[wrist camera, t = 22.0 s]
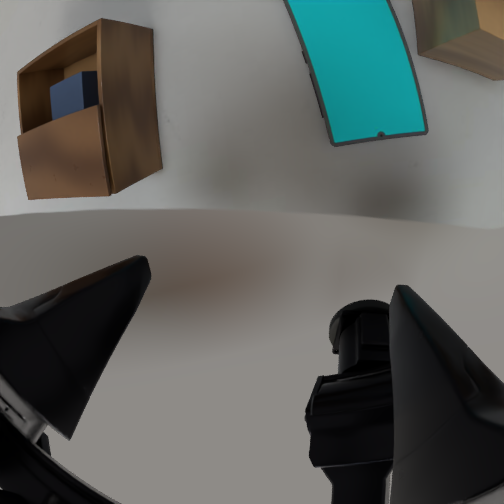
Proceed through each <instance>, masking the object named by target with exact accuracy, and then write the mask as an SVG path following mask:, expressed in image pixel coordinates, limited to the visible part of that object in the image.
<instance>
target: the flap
mask: <svg viewBox="0 0 504 504" xmlns="http://www.w3.org/2000/svg"><path fill="white" fill-rule="evenodd" d="M17 139H18V147H19V154H20V160H21V166H22V172H23V177H24V182H25V187H26V192H27V196H28V200H35V199H51V198H71V197H100V196H110V195H111V189H110V184H109V178H108V172H107V165H106V158H105V150H104V142H103V133H102V123H101V111H100V105H95V106H92V107H89V108H86V109H83V110H80V111H77V112H74V113H71V114H69V115H66V116H63V117H61V118H58V119H56V120H53V121H51V122H48V123H46V124H43V125H41V126H39V127H37V128H34V129H32V130H30V131H28V132H26V133H24V134H21V135H19V136H17Z"/></svg>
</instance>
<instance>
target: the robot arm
mask: <svg viewBox="0 0 504 504" xmlns="http://www.w3.org/2000/svg"><path fill="white" fill-rule="evenodd" d="M150 280H151V271H150V267H149V263H148V260H147V258H146V257H145V256H140V255H136V256H133V257H131V258H128V259H125V260H123V261H120V262H118V263H116V264H113V265H111V266H108V267H106V268H103V269H101V270H98V271H96V272H93V273H91V274H89V275H86V276H84V277H82V278H79V279H77V280H74V281H72V282H70V283H67V284H65V285H63V286H60V287H58V288H56V289H53V290H51V291H49V292H47V293H44V294H41V295H39V296H36V297H34V298H31V299H29V300H26V301H24V302H21V303H18V304H16V305H13V306H10V307H0V487H1V488H2V489H3V490H0V504H121V503H119V502H117V501H115V500H114V499H112V498H110V497H108V496H107V495H105V494H103V493H102V492H100V491H98V490H97V489H95V488H93V487H92V486H91V485H89V484H87V483H86V482H84V481H83V480H81V479H80V478H79V477H77V476H76V475H74V474H73V473H72V472H70V471H69V470H67V469H66V468H65V467H63V466H62V465H61V464H60V463H58V462H57V461H56V460H54V459H53V458H52V457H51V452H50V446H49V440H48V436H47V435H46V434H45V433H44V432H43V431H44V430H45V428H46V427H47V425H49V426H50V427H51V428H52V429H54V430H55V431H56V432H58V433H59V434H60V435H62V436H63V437H64V438H66V439H67V440H70V439H71V437H72V435H73V433H74V431H75V429H76V426H77V424H78V422H79V419H80V417H81V415H82V413H83V411H84V409H85V407H86V405H87V403H88V401H89V398H90V396H91V394H92V392H93V390H94V388H95V386H96V384H97V382H98V380H99V378H100V376H101V374H102V372H103V370H104V368H105V367H106V365H107V363H108V361H109V359H110V357H111V355H112V353H113V351H114V350H115V348H116V346H117V344H118V342H119V340H120V339H121V337H122V335H123V333H124V332H125V330H126V328H127V326H128V324H129V323H130V321H131V319H132V317H133V316H134V314H135V312H136V310H137V308H138V306H139V304H140V302H141V300H142V297H143V295H144V293H145V291H146V289H147V287H148V285H149V283H150ZM346 314H347V315H346ZM345 315H346V316H345ZM467 347H468V346H467V344H466V343H465V342H464V341H463V340H462V339H461V338H460V337H459V336H458V335H457V334H456V333H455V332H454V331H453V329H451V327H450V326H449V325H447V323H446V322H445V321H444V320H443V319H442V318H441V317H440V316H439V315H438V314H437V313H436V312H435V311H434V310H433V309H432V308H431V307H430V306H429V305H428V304H427V303H426V302H425V301H424V300H423V299H422V298H421V297H420V296H419V295H418V294H416V292H414V291H413V290H412V289H411V288H410V287H409V286H407V285H397V286H396V287H395V290H394V293H393V296H392V299H391V302H390V306H389V313H376V312H364V311H353V310H343V311H342V312H341V315H340V320H339V324H338V328H337V332H336V336H335V340H334V344H333V348H332V353H333V354H338V355H339V364H338V374H335V375H329V376H324V375H323V376H318V378H317V381H316V383H315V386H314V389H313V391H312V394H311V397H310V399H309V402H308V404H307V407H306V410H305V412H306V415H305V421H306V423H307V428H308V431H309V433H310V435H311V439H310V450H309V458H310V460H311V462H312V464H313V466H314V467H315V468H317V467H321V469H322V470H323V472H324V473H325V475H326V476H327V478H328V479H329V480H330V482H331V483H332V502H331V504H388V503H389V488H390V487H389V486H390V474H391V472H392V470H393V473H392V474H393V475H392V487H391V497H390V504H504V383H503V382H502V381H501V380H500V379H499V378H498V377H497V376H496V375H495V374H494V373H493V372H492V371H491V370H490V369H489V368H488V367H487V366H486V365H485V364H484V363H483V362H482V361H481V360H480V359H479V358H478V357H477V355H476V354H475V353H474V352H473V351H472V350H471V349H470V348H469V347H468V348H467Z"/></svg>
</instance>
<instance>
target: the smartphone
mask: <svg viewBox="0 0 504 504" xmlns="http://www.w3.org/2000/svg"><path fill="white" fill-rule="evenodd" d="M283 1H284V3H285V6H286V8H287V11H288V13H289V15H290V18H291V20H292V23H293V25H294V28H295V31H296V33H297V36H298V38H299V41H300V44H301V47H302V49H303V51H302V53H303V56H304V59H305V62H306V63H307V64H308V67H309V70H310V77H311V80H312V84H313V87H314V90H315V93H316V97H317V100H318V104H319V107H320V111H321V114H322V118H324V120H325V124H326V128H327V132H328V135H329V139H330V143H331V145H332V146H334V147H338V146H344V145H350V144H356V143H363V142H369V141H376V140H384V139H392V138H400V137H409V136H419V135H426V134H427V133H428V125H427V119H426V114H425V109H424V104H423V100H422V95H421V91H420V87H419V83H418V79H417V75H416V72H415V68H414V65H413V61H412V58H411V55H410V52H409V49H408V46H407V43H406V40H405V37H404V34H403V32H402V29H401V26H400V24H399V21H398V19H397V16H396V14H395V12H394V9H393V7H392V5H391V3H390V0H283Z"/></svg>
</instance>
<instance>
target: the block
mask: <svg viewBox="0 0 504 504" xmlns="http://www.w3.org/2000/svg"><path fill="white" fill-rule="evenodd" d="M50 97H51V110H52V120H56V119H58V118H61V117H63V116H66V115H69V114H71V113H74V112H77V111H80V110H83V109H86V108H89V107H92V106H95V105H99V95H98V78H97V71H81V72H79V73H77V74H75V75H73V76H71V77H69V78H67V79H65V80H63V81H61V82H59V83H57V84H55V85H53V86H51V87H50Z"/></svg>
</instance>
